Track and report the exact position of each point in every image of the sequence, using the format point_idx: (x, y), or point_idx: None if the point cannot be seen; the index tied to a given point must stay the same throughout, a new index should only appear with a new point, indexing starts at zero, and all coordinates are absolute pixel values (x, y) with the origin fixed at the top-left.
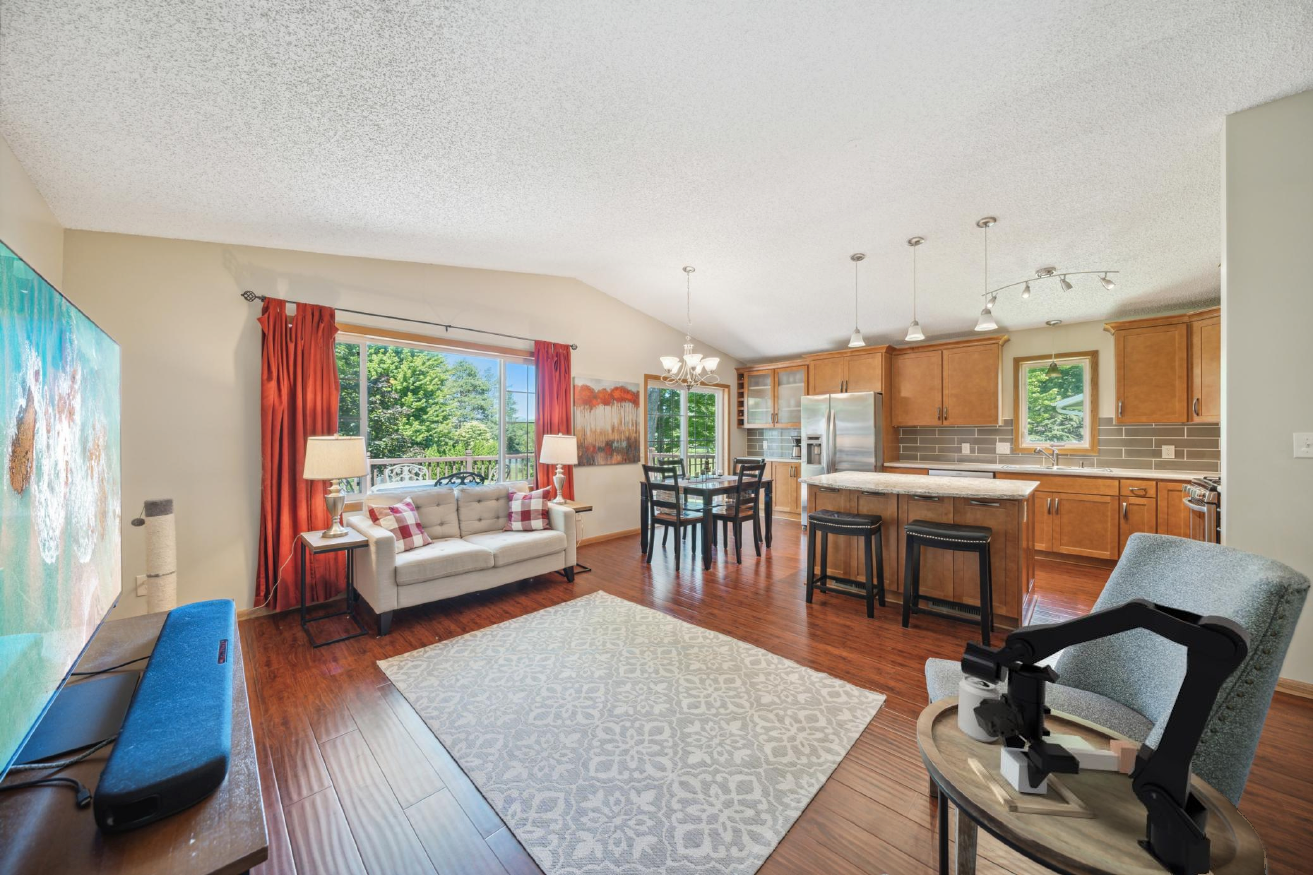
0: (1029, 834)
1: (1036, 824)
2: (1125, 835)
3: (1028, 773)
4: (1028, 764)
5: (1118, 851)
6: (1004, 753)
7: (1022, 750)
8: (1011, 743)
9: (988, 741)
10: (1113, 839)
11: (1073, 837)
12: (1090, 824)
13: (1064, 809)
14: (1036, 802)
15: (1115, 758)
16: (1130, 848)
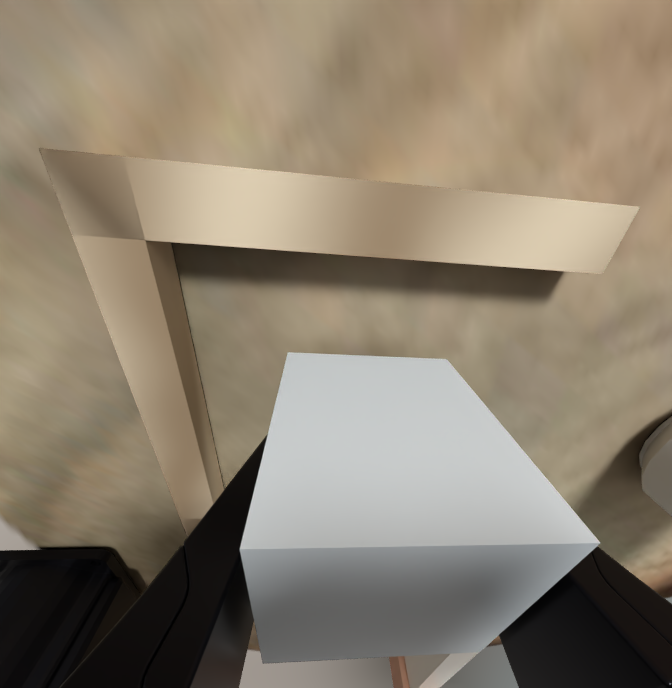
0: None
1: (25, 278)
2: (142, 540)
3: (246, 510)
4: (164, 662)
5: (29, 493)
6: (508, 500)
7: (478, 631)
8: (586, 658)
9: (650, 446)
10: (99, 509)
11: (20, 400)
12: (158, 493)
13: (166, 470)
14: (175, 385)
15: (410, 679)
16: (74, 524)
